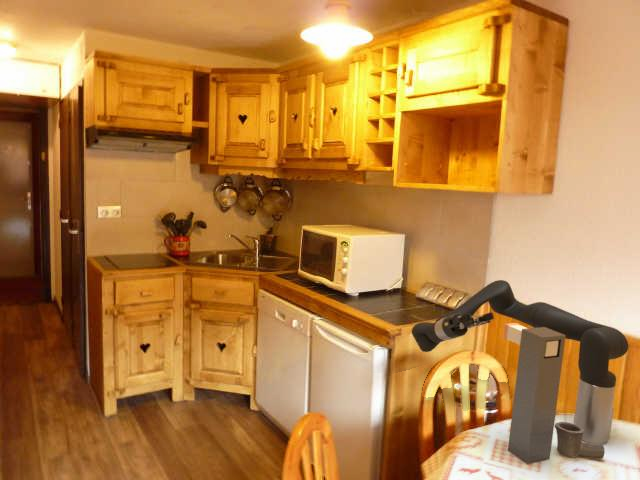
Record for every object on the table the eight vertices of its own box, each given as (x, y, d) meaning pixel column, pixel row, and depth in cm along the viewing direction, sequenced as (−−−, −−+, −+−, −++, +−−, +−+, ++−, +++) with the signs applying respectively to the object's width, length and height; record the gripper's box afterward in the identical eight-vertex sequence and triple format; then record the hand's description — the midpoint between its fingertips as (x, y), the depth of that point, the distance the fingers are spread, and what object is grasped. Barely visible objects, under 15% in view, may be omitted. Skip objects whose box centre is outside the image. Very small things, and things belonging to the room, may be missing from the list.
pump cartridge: (514, 337, 143) (516, 322, 143) (557, 355, 130) (559, 340, 129) (503, 338, 142) (504, 323, 141) (544, 357, 128) (546, 341, 127)
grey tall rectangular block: (529, 445, 140) (544, 327, 136) (549, 459, 134) (565, 335, 129) (507, 450, 137) (522, 328, 133) (527, 464, 131) (542, 337, 126)
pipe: (605, 465, 133) (609, 437, 132) (554, 457, 135) (558, 429, 134) (597, 453, 139) (601, 426, 138) (548, 445, 141) (552, 419, 140)
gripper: (430, 317, 166) (459, 305, 152) (465, 315, 171) (496, 303, 157) (435, 340, 163) (465, 329, 149) (470, 336, 169) (502, 326, 155)
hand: (481, 316), depth 153 cm, fingers open, 8 cm apart
